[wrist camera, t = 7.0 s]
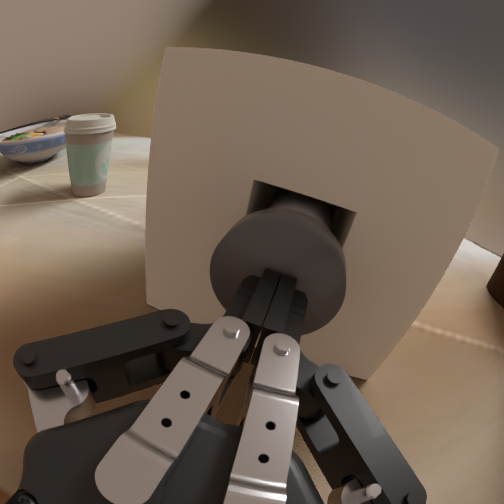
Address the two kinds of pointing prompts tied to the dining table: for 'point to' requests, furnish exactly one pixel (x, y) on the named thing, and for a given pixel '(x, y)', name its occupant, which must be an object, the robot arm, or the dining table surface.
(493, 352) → the dining table surface
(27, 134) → the ramen bowl
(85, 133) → the coffee cup
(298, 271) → the knob
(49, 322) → the dining table surface
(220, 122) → the knob mount
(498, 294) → the olive oil
